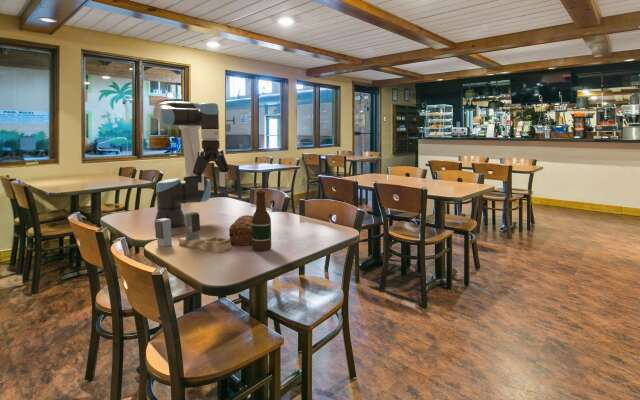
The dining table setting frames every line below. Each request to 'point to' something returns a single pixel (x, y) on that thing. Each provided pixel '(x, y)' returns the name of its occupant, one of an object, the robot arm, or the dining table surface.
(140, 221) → the dining table surface
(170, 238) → the block
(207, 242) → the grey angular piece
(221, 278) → the dining table surface
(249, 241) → the bread
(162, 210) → the robot arm
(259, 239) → the beer bottle
